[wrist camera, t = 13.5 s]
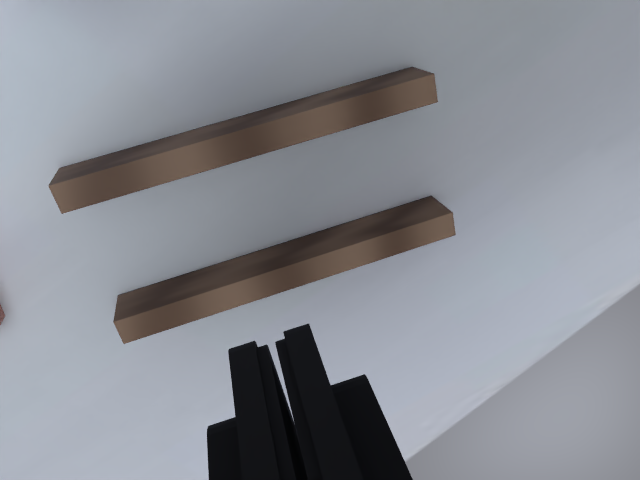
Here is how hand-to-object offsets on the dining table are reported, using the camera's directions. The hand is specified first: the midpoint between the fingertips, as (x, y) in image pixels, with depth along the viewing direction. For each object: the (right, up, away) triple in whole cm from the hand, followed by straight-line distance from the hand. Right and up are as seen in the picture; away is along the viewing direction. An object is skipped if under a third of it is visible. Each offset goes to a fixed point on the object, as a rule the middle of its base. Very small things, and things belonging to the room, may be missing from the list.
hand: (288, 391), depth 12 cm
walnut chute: (-2, +6, +22) cm, 22 cm away
